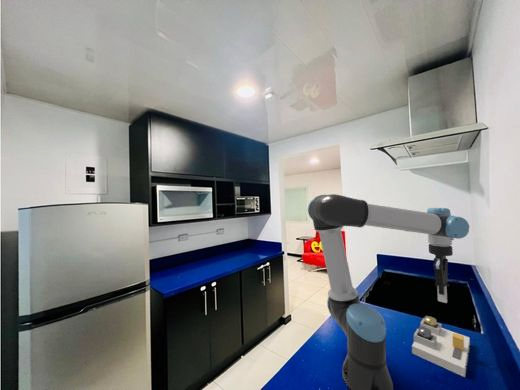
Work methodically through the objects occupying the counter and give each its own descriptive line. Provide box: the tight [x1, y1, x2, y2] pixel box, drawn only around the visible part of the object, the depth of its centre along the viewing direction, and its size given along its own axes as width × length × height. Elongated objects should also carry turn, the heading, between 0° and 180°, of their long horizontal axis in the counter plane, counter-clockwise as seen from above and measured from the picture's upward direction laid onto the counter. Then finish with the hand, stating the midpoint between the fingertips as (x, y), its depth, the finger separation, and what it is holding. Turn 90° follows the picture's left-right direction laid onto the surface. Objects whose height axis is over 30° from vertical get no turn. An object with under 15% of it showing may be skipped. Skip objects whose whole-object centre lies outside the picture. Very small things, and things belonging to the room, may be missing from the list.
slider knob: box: [452, 332, 465, 350], centre depth 81 cm, size 3×3×4 cm
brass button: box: [424, 315, 438, 328], centre depth 93 cm, size 4×4×3 cm
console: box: [411, 317, 471, 378], centre depth 85 cm, size 24×15×6 cm, turn 132°
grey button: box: [418, 326, 431, 340], centre depth 85 cm, size 4×4×3 cm
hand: (442, 301), depth 86 cm, fingers closed
